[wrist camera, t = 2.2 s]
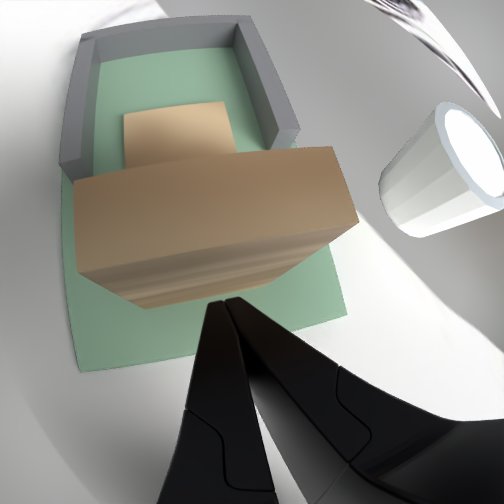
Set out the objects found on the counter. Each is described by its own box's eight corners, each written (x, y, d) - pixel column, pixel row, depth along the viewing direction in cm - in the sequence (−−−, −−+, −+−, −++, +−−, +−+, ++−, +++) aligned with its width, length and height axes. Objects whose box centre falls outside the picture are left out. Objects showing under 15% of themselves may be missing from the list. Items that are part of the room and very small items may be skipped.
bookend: (266, 285, 15) (359, 222, 7) (144, 309, 14) (77, 272, 5) (222, 109, 17) (249, -16, 9) (125, 122, 16) (103, -4, 7)
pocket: (286, 153, 17) (300, 129, 15) (73, 186, 14) (58, 163, 12) (244, 39, 20) (250, 15, 17) (87, 57, 17) (82, 33, 15)
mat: (344, 315, 16) (347, 314, 16) (81, 371, 12) (79, 372, 12) (251, 38, 20) (252, 35, 20) (79, 58, 17) (78, 56, 17)
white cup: (427, 267, 18) (508, 236, 11) (354, 197, 18) (423, 136, 11) (451, 201, 20) (514, 162, 13) (391, 140, 20) (445, 84, 13)
